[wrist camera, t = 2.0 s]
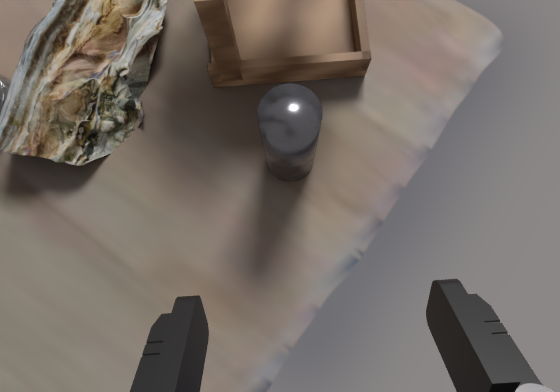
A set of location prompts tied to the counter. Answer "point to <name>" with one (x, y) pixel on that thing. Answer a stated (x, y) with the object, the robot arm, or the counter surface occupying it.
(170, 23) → the counter surface
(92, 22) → the rock
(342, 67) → the stand
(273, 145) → the cylinder
